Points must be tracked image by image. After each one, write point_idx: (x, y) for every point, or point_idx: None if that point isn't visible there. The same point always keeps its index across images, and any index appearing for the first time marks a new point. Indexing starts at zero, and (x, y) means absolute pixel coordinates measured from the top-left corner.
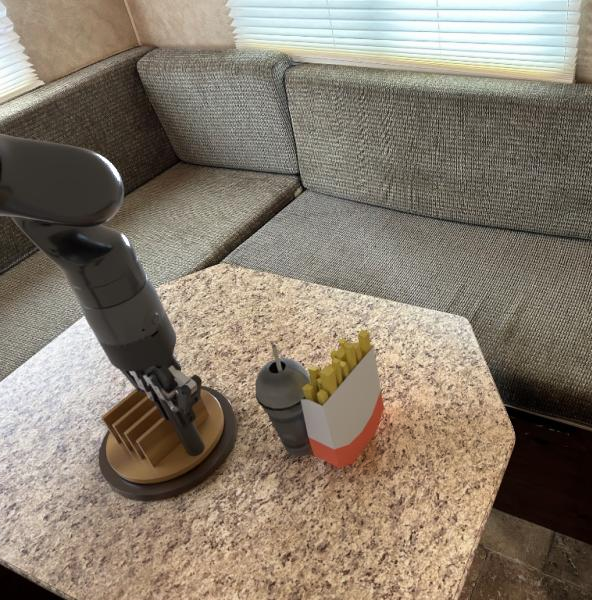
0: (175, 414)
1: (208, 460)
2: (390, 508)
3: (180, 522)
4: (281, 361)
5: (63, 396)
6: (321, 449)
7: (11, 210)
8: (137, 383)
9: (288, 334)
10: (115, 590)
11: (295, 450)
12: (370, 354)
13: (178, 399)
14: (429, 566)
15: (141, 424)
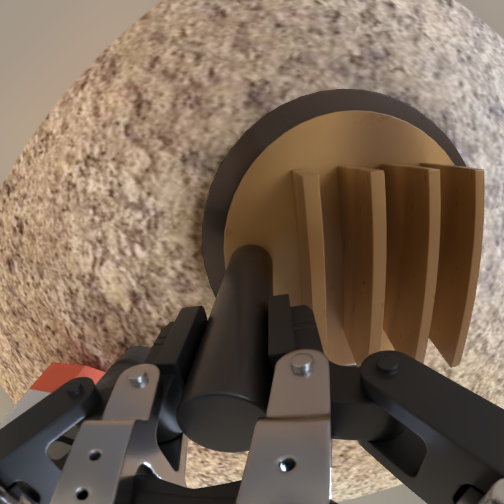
0: (163, 350)
1: (220, 260)
2: (15, 341)
3: (167, 139)
4: None
5: None
6: (56, 381)
7: None
8: (324, 464)
9: (338, 462)
10: (155, 10)
11: (119, 358)
12: None
13: (21, 444)
14: None
15: (369, 227)
